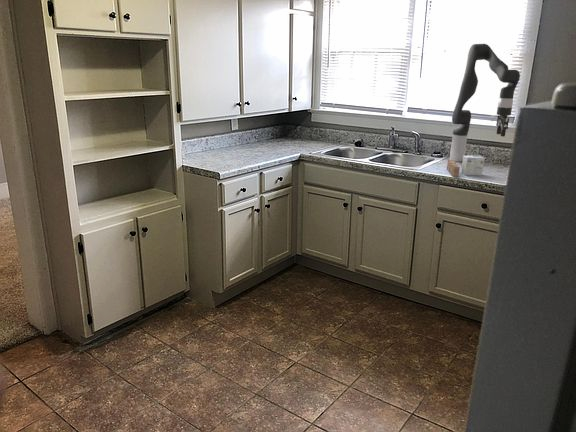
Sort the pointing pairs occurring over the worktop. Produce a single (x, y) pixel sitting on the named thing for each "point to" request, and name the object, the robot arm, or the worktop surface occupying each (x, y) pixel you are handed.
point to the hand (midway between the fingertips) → (500, 135)
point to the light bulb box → (472, 165)
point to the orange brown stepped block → (453, 168)
